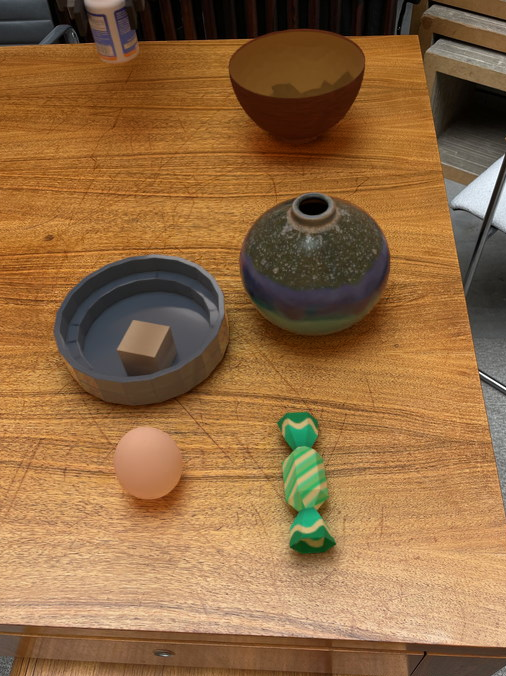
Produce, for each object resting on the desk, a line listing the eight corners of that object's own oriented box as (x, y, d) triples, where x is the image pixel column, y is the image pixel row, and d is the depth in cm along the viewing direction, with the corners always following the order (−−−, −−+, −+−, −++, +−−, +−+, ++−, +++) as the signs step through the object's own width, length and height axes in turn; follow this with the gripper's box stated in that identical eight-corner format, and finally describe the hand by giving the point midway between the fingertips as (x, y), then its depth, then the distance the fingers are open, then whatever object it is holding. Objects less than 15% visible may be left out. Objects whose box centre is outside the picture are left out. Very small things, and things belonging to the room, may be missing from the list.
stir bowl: (34, 367, 67) (18, 339, 63) (136, 265, 75) (127, 236, 72) (165, 435, 61) (155, 409, 57) (260, 316, 69) (256, 286, 66)
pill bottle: (136, 41, 86) (118, -39, 79) (143, 59, 83) (125, -22, 75) (96, 49, 85) (74, -31, 78) (102, 68, 82) (79, -14, 75)
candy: (270, 428, 59) (293, 405, 57) (301, 436, 61) (325, 414, 58) (281, 552, 52) (308, 533, 49) (316, 557, 54) (344, 539, 51)
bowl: (380, 112, 92) (386, 41, 84) (329, 182, 83) (329, 110, 75) (273, 88, 97) (268, 20, 89) (213, 151, 88) (202, 81, 80)
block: (126, 374, 65) (116, 349, 61) (142, 345, 67) (133, 319, 64) (163, 382, 64) (154, 357, 61) (177, 351, 66) (170, 326, 63)
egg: (163, 443, 60) (145, 397, 54) (201, 482, 57) (187, 439, 51) (113, 482, 58) (88, 439, 52) (150, 525, 55) (128, 484, 49)
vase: (379, 366, 64) (390, 269, 53) (231, 350, 66) (213, 254, 56) (391, 261, 73) (402, 160, 62) (260, 250, 75) (249, 151, 65)
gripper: (177, -31, 93) (187, 43, 79) (51, -16, 92) (39, 62, 78) (168, -92, 87) (176, -23, 73) (33, -76, 87) (15, -4, 73)
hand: (105, 21), depth 76 cm, fingers closed on pill bottle, 5 cm apart
